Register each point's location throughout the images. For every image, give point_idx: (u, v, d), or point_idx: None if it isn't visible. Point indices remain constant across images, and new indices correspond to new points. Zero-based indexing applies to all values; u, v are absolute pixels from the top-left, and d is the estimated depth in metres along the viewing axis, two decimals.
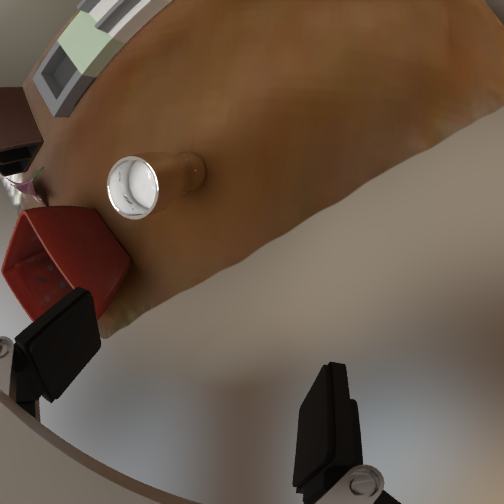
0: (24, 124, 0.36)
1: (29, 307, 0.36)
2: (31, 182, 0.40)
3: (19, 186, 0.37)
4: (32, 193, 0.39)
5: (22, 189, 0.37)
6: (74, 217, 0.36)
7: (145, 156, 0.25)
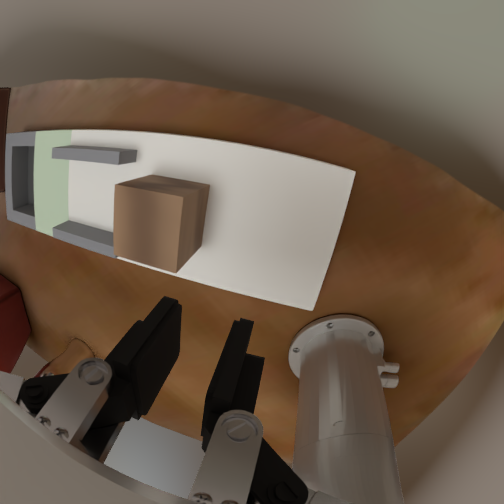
0: None
1: None
2: None
3: None
4: None
5: None
6: (2, 313, 0.35)
7: None
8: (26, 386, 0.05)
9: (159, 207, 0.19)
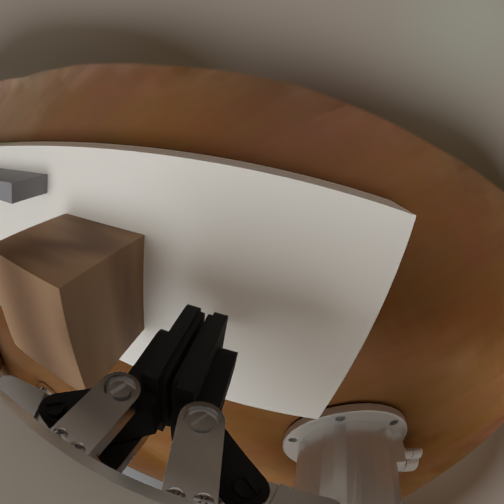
0: None
1: None
2: None
3: None
4: None
5: None
6: None
7: None
8: (46, 405, 0.05)
9: (35, 298, 0.08)
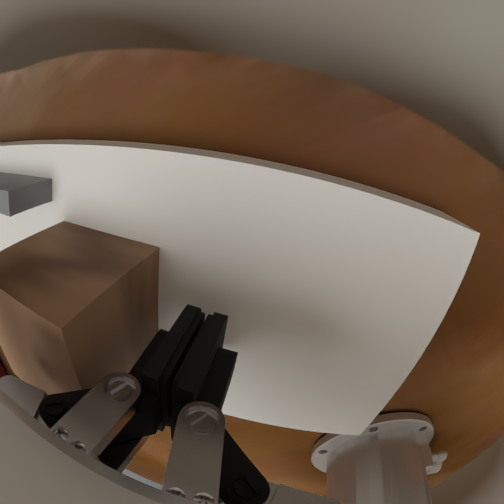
0: None
1: None
2: None
3: None
4: None
5: None
6: None
7: None
8: (46, 404, 0.05)
9: (33, 333, 0.06)
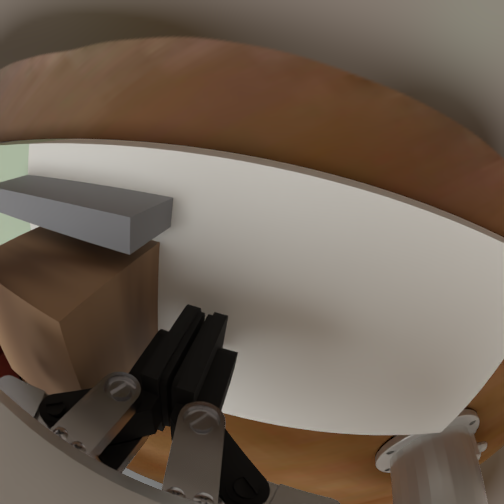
0: None
1: None
2: None
3: None
4: None
5: None
6: None
7: None
8: (46, 405, 0.05)
9: (30, 327, 0.06)
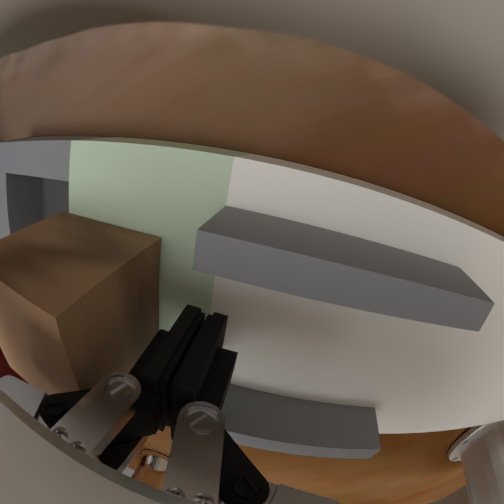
0: None
1: None
2: None
3: None
4: None
5: None
6: None
7: None
8: (46, 405, 0.05)
9: (27, 323, 0.06)
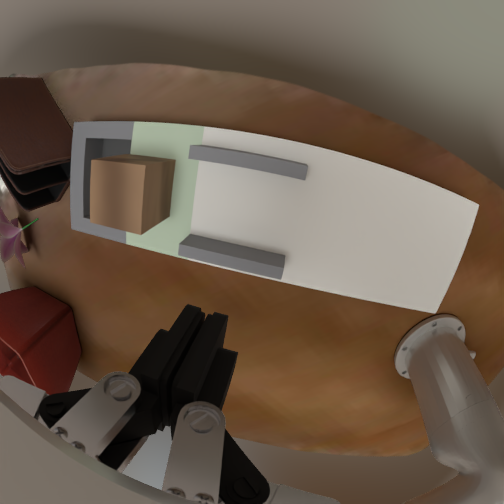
0: (54, 129, 0.26)
1: None
2: (19, 232, 0.34)
3: (5, 238, 0.31)
4: (17, 252, 0.33)
5: (8, 246, 0.31)
6: (55, 338, 0.35)
7: None
8: (46, 405, 0.05)
9: (126, 176, 0.20)
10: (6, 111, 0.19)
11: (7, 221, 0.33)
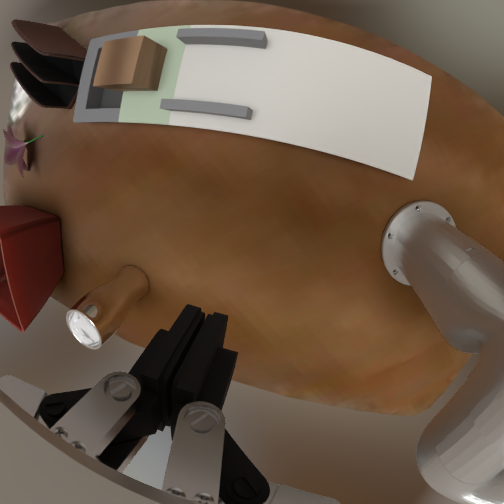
0: (72, 46, 0.27)
1: None
2: (24, 146, 0.34)
3: (11, 147, 0.31)
4: (19, 162, 0.34)
5: (12, 154, 0.32)
6: (38, 238, 0.36)
7: (101, 324, 0.31)
8: (46, 404, 0.05)
9: (129, 44, 0.21)
10: (35, 32, 0.20)
11: None
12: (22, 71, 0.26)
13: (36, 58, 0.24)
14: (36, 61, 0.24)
